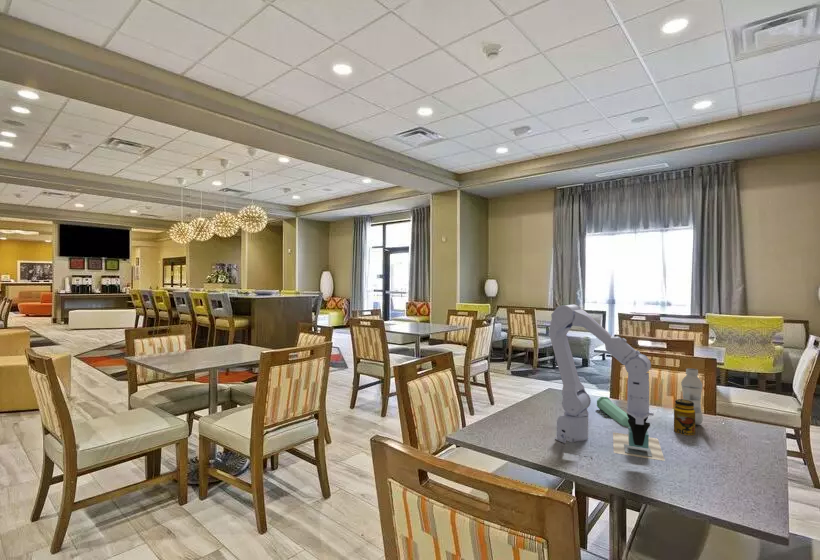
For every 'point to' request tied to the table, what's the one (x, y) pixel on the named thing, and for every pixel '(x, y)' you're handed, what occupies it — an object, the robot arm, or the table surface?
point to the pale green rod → (613, 411)
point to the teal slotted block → (631, 441)
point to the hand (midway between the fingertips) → (637, 441)
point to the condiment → (684, 417)
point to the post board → (623, 447)
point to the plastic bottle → (693, 392)
